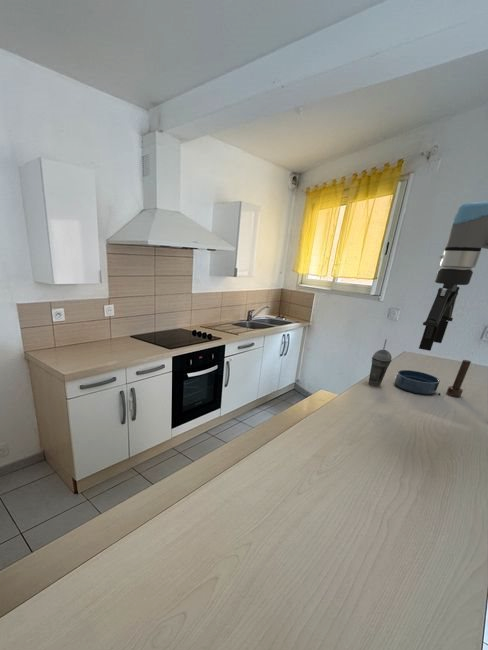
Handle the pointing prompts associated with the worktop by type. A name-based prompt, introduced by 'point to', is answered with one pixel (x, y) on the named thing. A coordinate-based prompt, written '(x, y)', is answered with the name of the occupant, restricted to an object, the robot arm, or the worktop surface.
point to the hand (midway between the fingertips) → (430, 345)
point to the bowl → (416, 382)
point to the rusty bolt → (459, 380)
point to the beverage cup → (379, 366)
